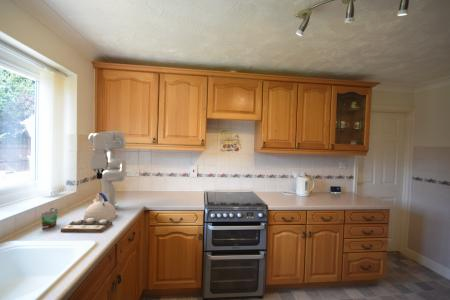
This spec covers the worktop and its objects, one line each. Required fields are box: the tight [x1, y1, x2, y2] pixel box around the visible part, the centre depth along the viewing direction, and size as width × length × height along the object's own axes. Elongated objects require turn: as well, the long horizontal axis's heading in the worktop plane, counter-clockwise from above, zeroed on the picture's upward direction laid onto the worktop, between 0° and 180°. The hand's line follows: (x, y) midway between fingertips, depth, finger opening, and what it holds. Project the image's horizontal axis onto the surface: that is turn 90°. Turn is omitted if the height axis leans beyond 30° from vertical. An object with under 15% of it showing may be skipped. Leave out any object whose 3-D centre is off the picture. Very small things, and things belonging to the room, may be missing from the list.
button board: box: [60, 219, 113, 233], centre depth 135 cm, size 13×24×3 cm, turn 91°
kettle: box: [83, 192, 117, 221], centre depth 154 cm, size 20×21×18 cm
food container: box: [40, 207, 59, 230], centre depth 137 cm, size 12×6×10 cm, turn 17°
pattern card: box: [61, 224, 104, 229], centre depth 131 cm, size 5×22×1 cm, turn 91°
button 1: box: [73, 218, 82, 223], centre depth 137 cm, size 4×4×2 cm
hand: (99, 178), depth 147 cm, fingers closed
